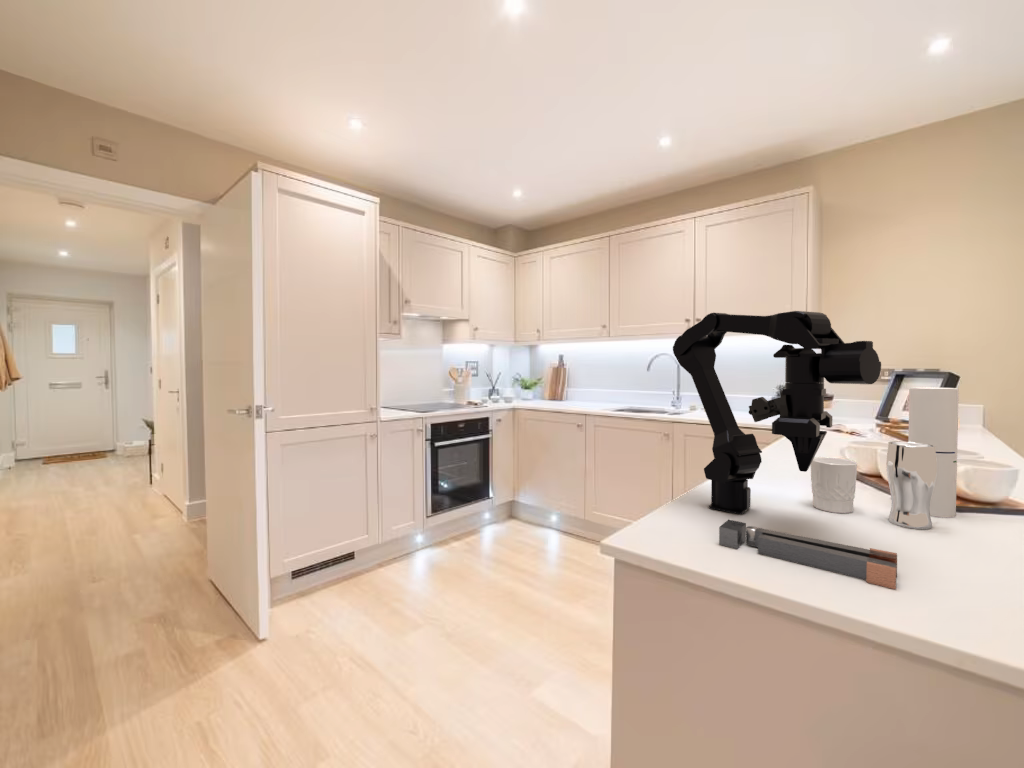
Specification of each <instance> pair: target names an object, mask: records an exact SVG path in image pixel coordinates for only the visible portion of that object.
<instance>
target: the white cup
mask: <svg viewBox="0 0 1024 768" xmlns="http://www.w3.org/2000/svg"><path fill="white" fill-rule="evenodd" d="M857 470H858V463H857V461H854V460H851V459H846V458H841V457H827V456H818V457H817V456H816V457H814V459H813V461H812V463H811V465H810V482H811V485H810V486H811V493H812V504H813V505H812V506H813V507H814V508H816V509H817V510H821V511H824V512H829V513H834V514H835V513H836V514H849V513H850V514H851V513H852V512H853V510H854V499H855V497H856V496H855V494H856V488H857V487H856V484H857V472H858V471H857Z"/></svg>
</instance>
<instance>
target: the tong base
mask: <svg viewBox="0 0 1024 768" xmlns="http://www.w3.org/2000/svg"><path fill="white" fill-rule="evenodd" d="M746 527H747V523H746V522H744V521H743V522H742V521H737V520H732V519H727V520H726V521H725V522H723V523H722V524H721V525H720V526H719V529H718V531H719V532H718V534H719V536H718V537H719V538H718V541H719V542H718V545H719V546H724V547H726V548H731V549H735V550H738V549H739V548H740V547H741V546H742V545H743V544H744V543H746ZM757 554H760V555H763V556H767V557H772V558H776V559H780V560H783V561H788V562H792V563H797V564H800V565H802V566H808V567H812V568H816V569H821V570H824V571H828V572H833V573H836V574H841V575H845V576H849V577H852V578H857V579H862V580H864V581H866V583H868V584H871V585H877V586H881V587H884V588H889V589H892V590H897V578H896V571H897V572H898V562H897V563H892V562H887V561H883V560H878V559H874V558H869V557H865V556H860V555H855V554H851V553H846V552H842V551H837V550H832V549H828V548H823V547H819V546H814V545H810V544H805V543H800V542H796V541H791V540H787V539H782V538H777V537H773V536H768V535H764V534H761V535H760V536H759V537H758V547H757Z"/></svg>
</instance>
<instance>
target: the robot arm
mask: <svg viewBox="0 0 1024 768" xmlns="http://www.w3.org/2000/svg"><path fill="white" fill-rule="evenodd" d="M727 333H737V334H738V333H739V334H747V335H748V334H749V335H750V334H751V335H759V336H760V335H761V336H766V337H769V338H771V339H773V340H776V341H779V342H783V343H785V344H783V345H782V346H781V348H780V349H778V350H776V352H775V353H773V358H777V359H781V358H783V359H785V361H784V362H785V366H784V367H785V368H784V369H785V371H784V373H785V374H784V375H785V378H784V379H785V380H784V382H785V385H784V388H782V390H780V396H779V397H777V398H773V399H769V400H767V399H766V397H764V396H760V397H757V398H753V399H751V405H749V406H748V415H751V417H752V419H753V422H754V423H758V422H761V421H763V420H767V419H769V418H772V417H777V416H779V417H777V418H776V419H774V421H772V422H771V434H772V435H779V436H783V437H784V438H785V439H787V440H789V442H790V443H791V445H792V449H793V452H794V456H795V460H796V462H797V463H796V464H797V466H798V471H800V472H804V473H805V472H806V473H807V472H808V471H809V469H810V468H811V463H812V461H813V459H814V457H815V456H816V454H817V452H818V451H819V449H820V447H821V444H822V443H823V441H824V439H825V437H826V435H827V433H828V431H827V430H821V426H822V427H823V426H824V427H826V428H833V415H831V414H830V413H829V412H828V411H827V410H826V411H825V409H824V408H825V396H826V395H827V388H825V381H827V382H828V383H830V384H834V385H835V384H840V385H841V384H844V385H845V384H846V385H873V384H875V383H876V382H877V381H878V380H879V377H880V375H881V372H882V371H881V370H882V361H880V357H879V354H878V353H877V350H875V349H874V342H873V341H872V340H856V341H853V342H844V341H843V339H842V338H841V337H840V336H839V335H838V333H837V332H836V331H835V330H834V329H833V327H832V323H831V320H830V318H829V317H828V316H827V314H826V313H822V312H818V311H805V310H804V311H803V310H792V311H787V312H786V311H785V312H778V313H774V314H770V315H749V314H748V315H746V314H730V313H725V312H711V313H708V314H706V315H705V316H704V317H703V319H701V320H700V322H698V323H696V324H694V325H692V326H691V327H689V328H687V329H686V330H685V331H684V332H683V333H682V334H681V335H679V336H678V337H677V338H676V340H674V344H673V346H672V352H673V354H674V357H675V359H676V361H677V362H678V364H679V366H681V367H682V368H683V369H684V370H685V371H686V372H687V373H688V374H689V375H690V376H691V378H692V382H693V383H694V386H695V388H696V391H697V393H698V396H699V399H700V401H701V403H702V404H701V405H702V407H703V409H704V412H705V414H706V417H707V419H708V422H709V426H710V428H711V430H712V432H713V435H714V436H713V443H712V448H711V449H712V455H713V459H712V460H711V461H710V462H709V463H708V464H707V465H706V466H705V467H704V468H703V473H704V475H705V478H706V480H709V481H711V487H710V488H711V499H710V501H711V503H710V504H708V507H707V508H709V509H710V510H711V509H712V510H716V511H720V512H721V511H722V512H726V513H732V514H737V515H743V514H744V513H745V512H747V511H748V510H749V509H750V508H751V491H752V490H751V487H749V486H748V485H749V481H748V480H754V477H755V475H756V472H757V470H758V469H759V468H760V466H761V464H762V456H761V454H762V453H763V451H762V450H761V449H760V447H759V445H758V443H757V439H756V436H755V435H754V434H753V433H745V432H744V431H742V430H741V428H740V427H739V425H738V422H737V421H736V420H737V419H736V418H735V416H734V413H733V411H732V408H731V405H730V403H729V401H728V398H727V396H726V394H725V391H724V389H723V386H722V384H721V382H720V379H719V376H718V375H717V372H716V370H715V364H716V359H717V354H716V349H717V348H718V347H719V346H721V344H722V342H723V340H724V337H725V335H726V334H727ZM793 345H798V346H800V347H794V346H793ZM815 350H820V352H818V353H817V352H816V351H815Z"/></svg>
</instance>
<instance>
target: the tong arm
mask: <svg viewBox="0 0 1024 768" xmlns="http://www.w3.org/2000/svg"><path fill="white" fill-rule="evenodd" d="M761 534H764V535H768V536H773V537H777V538H782V539H787V540H791V541H796V542H800V543H805V544H810V545H814V546H819V547H823V548H828V549H832V550H837V551H842V552H846V553H851V554H855V555H860V556H865V557H869V558H874V559H878V560H883V561H887V562H892V563H897V564H898V553H897V552H892V551H887V550H882V549H876V548H870V547H869V549H868V548H863V547H857V546H852V545H848V544H843V543H838V542H833V541H828V540H822V539H818V538H813V537H807V536H803V535H796V534H792V533H787V532H781V531H777V530H771V529H767V528H762V527H758V526H753V525H749V526H747V525H746V541H745V544H746V545H748V546H751V547H756V548H758V537H759V536H760V535H761ZM897 577H898V570H897V571H896V579H897Z"/></svg>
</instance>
